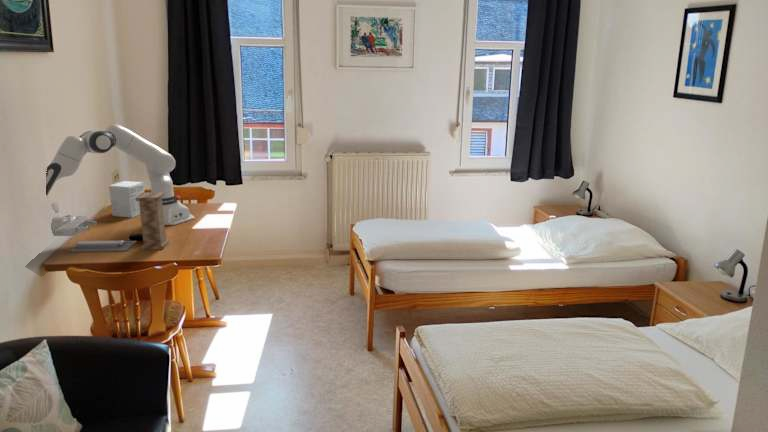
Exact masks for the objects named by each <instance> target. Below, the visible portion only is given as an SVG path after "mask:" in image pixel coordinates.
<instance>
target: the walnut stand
mask: <svg viewBox="0 0 768 432" xmlns="http://www.w3.org/2000/svg"><path fill="white" fill-rule="evenodd" d="M163 196H164V192H157V193H151V192H144V193H141V194H140V195H139V196H137V197H136V201H139V207H140V214H139V216H140V222H141V223H140V224H141V233H142V234H141V235H142V241H143V244H142V245H141V246H140V249H141V250H143V251H144V250H148V251H149V250H164V249H165V248H166V247H167V246H168V244H169V243H170V240H169V239H167V236H166V227H165V226H166V225H164V215H163V205H162V197H163Z"/></svg>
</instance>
